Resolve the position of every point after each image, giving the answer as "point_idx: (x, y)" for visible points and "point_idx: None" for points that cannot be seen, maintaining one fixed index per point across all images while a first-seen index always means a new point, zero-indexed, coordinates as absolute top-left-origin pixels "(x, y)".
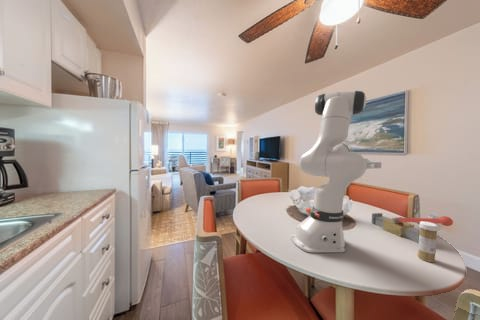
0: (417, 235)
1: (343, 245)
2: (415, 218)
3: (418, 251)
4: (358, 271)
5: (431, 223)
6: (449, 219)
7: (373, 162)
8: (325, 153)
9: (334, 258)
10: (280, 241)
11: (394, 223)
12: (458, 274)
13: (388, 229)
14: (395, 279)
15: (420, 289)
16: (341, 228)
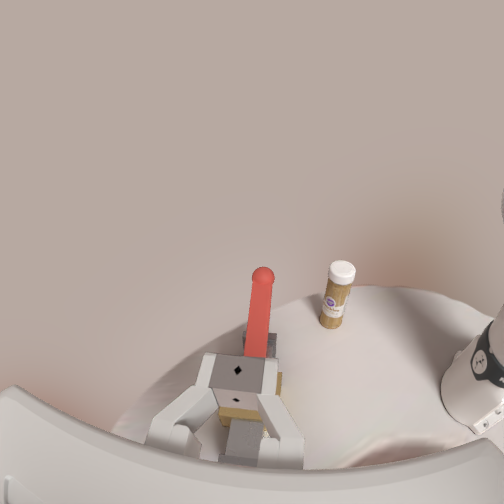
0: (272, 349)
1: (457, 357)
2: (261, 335)
3: (339, 320)
4: (454, 317)
5: (336, 266)
6: (266, 267)
7: (106, 431)
8: None
9: None
10: None
11: (277, 389)
12: None
13: None
14: (420, 301)
15: (404, 288)
16: (478, 335)
